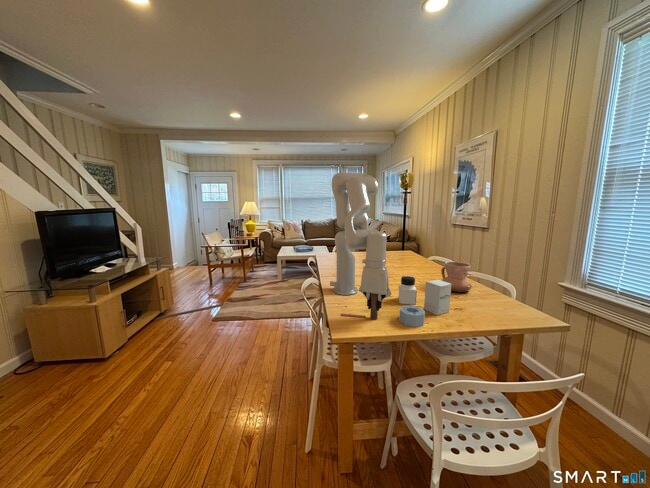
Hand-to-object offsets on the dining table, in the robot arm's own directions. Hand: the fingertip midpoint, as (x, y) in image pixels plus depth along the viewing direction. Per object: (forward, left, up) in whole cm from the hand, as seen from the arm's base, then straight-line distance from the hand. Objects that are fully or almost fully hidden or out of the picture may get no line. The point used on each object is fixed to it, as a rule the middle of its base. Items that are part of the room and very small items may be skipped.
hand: (374, 308), depth 101 cm
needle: (0, 0, -4) cm, 4 cm away
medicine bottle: (+9, +24, -4) cm, 26 cm away
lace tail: (-8, -2, -4) cm, 9 cm away
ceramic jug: (+29, +53, -4) cm, 61 cm away
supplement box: (+22, +19, -4) cm, 29 cm away
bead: (+14, +4, -4) cm, 15 cm away
